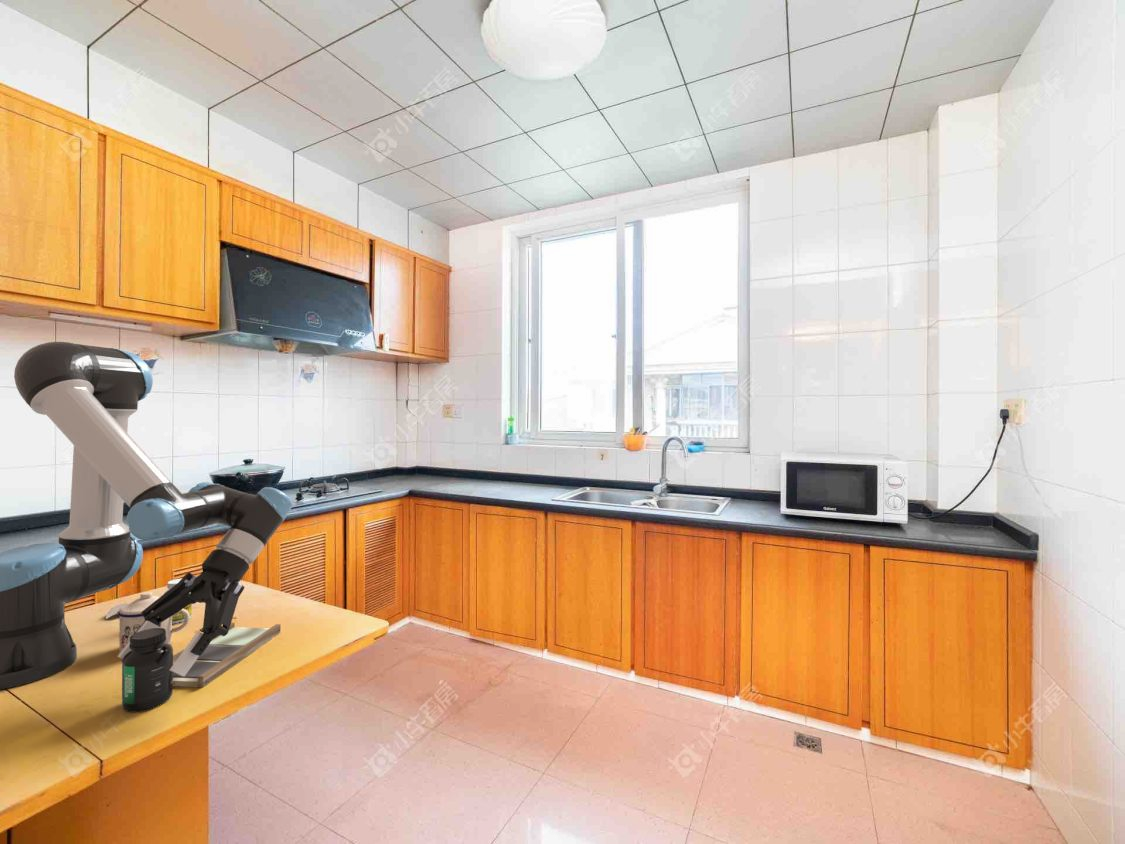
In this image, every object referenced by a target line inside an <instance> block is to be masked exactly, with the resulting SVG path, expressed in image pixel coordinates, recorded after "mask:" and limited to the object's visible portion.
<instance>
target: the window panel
mask: <svg viewBox="0 0 1125 844" xmlns="http://www.w3.org/2000/svg"><path fill="white" fill-rule="evenodd" d="M235 625H236V623H235V622H231V625H230V628H229V631H228V634H227V635H225V636H222V635H220V636H217V637H216V638H213V639H212V641H211V642H210V644H209V645H208V646H207V648H206V649H205V651H204V652H203V653H202V654H201V655H200V656H199V657H198V658H197V660H196V661H195V662H194V664H193V665H192V667H191V668H190V669H189V671H188V672H187V674H186V675H185V677H184V676H181V675H179V674H176V673H174V672H173V687H183V688H184V687H186V688H187V687H189V688H190V687H192V688H204V687H206V686H207V685H209V684H210V683H212V682H213V681H214V680H216V679H217V678H219V677H220V676H221V675H222V674H224V673H226V672H227V671H228V670H230V669H231V668H233V667H234V666H236V665H238V663H239V662H241V661H242V660H244V659H246V658H247V657H248V656H250V655H252V654H253V653H254V652H256V651H257V650H258V649H260V648H261V647H262V645H263V646H264V645H265V644H267V643H268V642H270V641H271V640H272V638H273V637H274V638H275V637H277V636H278V635H280V634H281V623H276V624H274V625H273V626H271V627H265V628H264V627H247V626H246V627H245V626H244V627H243V626H241V627H240V626H235ZM279 633H280V634H279ZM276 635H277V636H276ZM274 638H273V639H274ZM269 640H270V641H269ZM183 651H184V649H182V650H180V651H178V652H176V653H175V654H173V665H174V663H175V662H176V660H177V659H178V658H179V656H180V655H181V654H182V652H183Z"/></svg>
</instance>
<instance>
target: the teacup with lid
mask: <svg viewBox="0 0 1125 844" xmlns="http://www.w3.org/2000/svg"><path fill="white" fill-rule="evenodd" d="M160 597H161V596H158V595H153V592H152V591H146V592H141V593H140V597H139V598H136V599H134V600H133V601H132V602H131V601H130V602H129V603H125V604H126V605H124V606H123V607H121V608H120V610H119V612H118V613H117V615H118V616H119V653H120V652H121V651H122V650H123V649H124V647H125V646H126V645H127V644H128V643H129V641H130V637H131V636H132V635H133V634H135V633H136V631H137V630H138V629H139V628H140V626H141V625H142V624H143V623H144V621H145V618H144V617H143V616H142V615H141V613H142V611H143V610H145V609H146V608H147V607H148V606H150V605H151V604H152V603H153V602H155V601H156V600H157V599H158V598H160ZM151 612H153V611H151ZM177 613H182V614H184V615H185V621H184V622H182V624H181V625H180V626H177V627H173V624H172V616H171V617H169V618H168V619H166V620H164V621H163V622H161V627H160V628H164V629H165V630H166V641H165V643H168V644H170V645H171V643H172V640H173V633H177V632H180V631H181V630H183V629H184V628H186V626H187V624H188V622H189V620H190V619H189V613H188V611H187V610H185V609H182V610H180V611H179V612H177Z"/></svg>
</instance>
